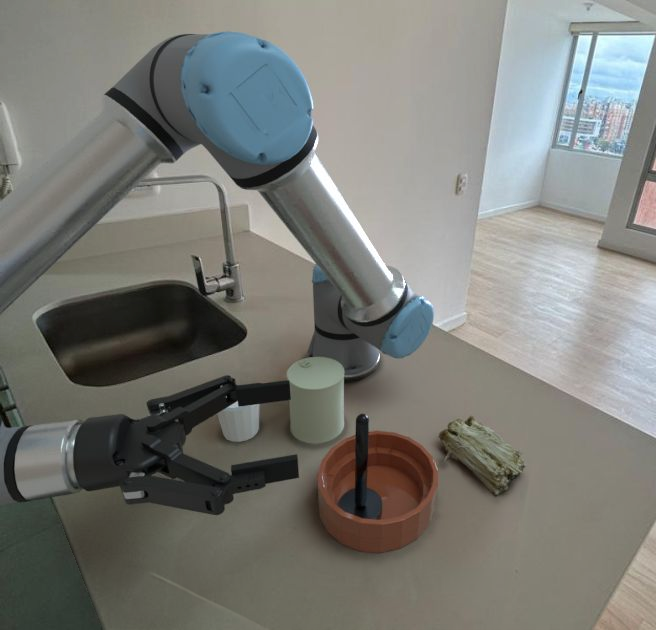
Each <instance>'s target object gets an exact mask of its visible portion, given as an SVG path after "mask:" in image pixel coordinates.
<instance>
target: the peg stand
mask: <svg viewBox="0 0 656 630" xmlns="http://www.w3.org/2000/svg"><path fill="white" fill-rule="evenodd" d="M369 432H370V418H369V416H368V415H367V414H366V413H359V414H358V415H357V416H356V417H355V435H356V440H355V488H353V489H351V490H349V491H347V492H346V493H344V494H343V496H342V497H341V498H340V500H339V504H338V507H340V508H341V509H342V510H343V511H344V512H347V513H350V514H352V515H355V516H357V517H360V518H364V519H376V520H380V519H381V516H382V500H381V498H380V496H379V494H378V493H377V492H375V491H374V490H372V489H369V488H367V467H368V436H369Z"/></svg>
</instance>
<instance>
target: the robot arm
mask: <svg viewBox="0 0 656 630" xmlns="http://www.w3.org/2000/svg"><path fill="white" fill-rule="evenodd" d="M100 99H101V100H100V101H101V112H99V113H98V114H97V115H96V116H95V117H94V118H93V119H92V120H90V121H89V122H88V123H87V124H86V125H85V126H84V127H82V129H80V130H79V131H78V132H77V133H76V134H75V135H73V137H71V138H70V139H69V140H68V141H66V142H65V143H64V144H63V145H62V146H61V147H60V148H59V149H58V150H57V151H55V152H54V153H53V154H52V155H51V156H50V157H48V158H47V159H46V160H45V161H44V162H43V163H42V164H41V165H39V166H38V167H37V168H36V169H35V170H34V171H33V172H32V173H31V174H30V175H28V176H27V177H26V178H25V179H24V180H22V181H21V182H20V183H19V184H18V185H17V186H16V187H15V188H14V189H12V191H10V192H9V193H8V194H6V196H5V197H3V199H1V200H0V315H2V314H3V313H4V312H5V311H6V310H7V309H8V308H9V307H10V306H11V305H12V304H13V303H14V302H15V301H17V300H18V298H20V297H21V296H22V295H24V293H25V292H26V291H27V290H28V289H29V288H30V287H32V285H34V284H35V283H36V282H37V281H38V280H39V279H40V278H41V277H42V276H43V275H44V274H45V273H46V272H47V271H48V270H49V269H51V267H53V266H54V264H56V263H57V262H58V261H59V260H60V259H61V258H62V257H63V256H64V255H65V254H66V253H68V251H70V250H71V249H72V248H73V246H75V244H77V243H78V242H79V241H80V240H81V239H82V238H83V237H84V236H85V235H86V234H87V233H89V231H91V230H92V229H93V228H94V227H95V226H96V225H97V224H99V222H100V221H101V220H102V219H103V218H104V217H105V216H107V214H108V213H110V211H111V210H113V209H114V208H115V207H116V206H117V205H118V204H119V203H120V202H121V201H122V200H123V199H124V198H125V197H126V196H127V195H128V194H129V193H131V192H132V191H133V190H134V189H135V188H136V187H137V186H138V185H139V184H140V183H141V182H142V181H143V180H144V179H145V178H147V176H149V175H150V174H151V173H152V172H153V171H154V170H155V169H156V168H157V167H158V166H160V164H175V163H176V162H177V161H178V160H179V159H180V158H181V157H182V156H183V155H185V154H186V153H187V152H188V151H190V150H192V149H193V148H196V147H198V146H200V145H201V146H202V147H204V149H206V151H207V152H208V153H209V154H210V155H211V156H212V158H213V159H214V160H215V161H216V162H217V163H218V165H219V166H220V167H221V168H222V170H223V171H224V172H225V173H226V175H228V177H229V178H230V179H231V180H232V181H233V183H234V184H235V185H236V186H237V187H239V188H240V189H242V190H245V191H257V192H258V193H259V195H260V196H261V197H262V198H263V199H264V201H265V202H266V203H267V205H268V206H269V207H270V208H271V209H272V211H273V212H274V213H275V214H276V216H277V217H278V219H280V221H281V222H282V223H283V224H284V226H285V227H286V228H287V230H288V231H289V232H290V233H291V234H292V236H293V237H294V238H295V239H296V241H297V242H298V243H299V244H300V246H301V247H302V248H303V250H305V251H306V253H307V255H308V256H309V257H310V258H311V260H313V262H314V263H315V264H314V266H313V268H312V276H311V277H312V279H311V283H312V297H313V298H312V299H313V322H314V330H313V333H312V336H311V339H310V342H309V345H308V349H307V352H306V358H310V357H326V358H331V359H334V360H336V361H338V362H339V363H340V364H341V365H342V366H343V368H344V371H345V373H344V382H351V381H352V382H353V381H358V380H361V379H363V378H367V377H368V376H370V375H371V374H373V373H374V372H375V371H376V370H377V369H378V367H379V364H380V352H381V353H382V354H383V355H387V356H389V357H391V358H393V359H398V360H399V359H403V358H404V359H405V358H406V357H409V356H410V355H412V354H414V353H415V352H416V351H418V349H419V348H420V347H421V346H422V345H423V344H424V342H425V341H426V339H427V337H428V336H429V335H430V331H431V329H432V326H433V323H434V319H435V310H434V306H433V304H432V303H431V301H429V300H428V299H426V297H425V296H423V295H418V294H416V293H415V292H414V291H413V290H412V288H411V287H410V286H409V284H408V282H407V281H406V279H405V277H404V276H403V274H402V272H401V271H400V270H399V269H397V268H396V267H393V266H391V265H386V264H385V263H384V261H383V260H382V258H381V256H380V254H379V253H378V251H377V250H376V248H375V246H374V245H373V243H372V241H371V240H370V238H369V236H368V235H367V233H366V232H365V230H364V229H363V227H362V226H361V224H360V223H359V221H358V220H357V217H356V216H355V214H354V213H353V211H352V210H351V208H350V206H349V205H348V203H347V201H346V200H345V199H344V197H343V195H342V194H341V192H340V190H339V188H338V187H337V186H336V184H335V182H334V181H333V179H332V177H331V176H330V174H329V173H328V171H327V169H326V168H325V166H324V165H323V162H322V161H321V159H320V158H319V156H318V155H317V154H316V150H317V146H318V143H319V133H318V131H317V129H316V128H315V126H314V118H313V117H312V111H313V110H314V101H313V96H312V93H311V90H310V86H309V84H308V82H307V80H306V77H305V76H304V74H303V72H302V71H301V69H300V67H299V66H298V65H297V63H296V62H295V61H294V60H293V59H292V58H291V57H290V56H289V55H288V54H287V53H286V52H285V51H284V50H282V49H281V48H280V47H279V46H277V45H275V44H273V43H272V42H270V41H268V40H265V39H263V38H261V37H257V36H253V35H250V34H247V33H244V32H239V31H229V30H228V31H227V30H226V31H217V32H212V33H207V34H206V33H203V34H201V33H199V34H197V33H184V34H183V33H182V34H177V35H176V34H175V35H173V36H170V37H168V38H166V39H164V40H162V41H161V42H159V43H158V44H156V45H155V46H154V47H152V48H151V49H150V50H149V51H148V52H147V53H146V54H145V55H144V56H143V57H142V58H141V59H140V60H139V61H137V63H136V64H134V66H132V68H130V69H129V70H128V71H127V72H126V73H125V74H124V75H123V76H122V77H121V78H120V79H119V80H118V81H117V82H116V83H115V84H114V85H113V86H112V87H111V88H110V89H108V90H107V91H105V93H104V94H103V95H101V97H100ZM226 397H227V398H226ZM289 400H291V395H290V382H289V380H287V379H286V380H277V381H269V382H252V383H245V384H244V383H243V384H236V378H234V377H232V376H231V375H223V376H220V377H217V378H215V379H212V380H209V381H206V382H204V383H200V384H198V385H195V386H192V387H190V388H187V389H184V390H182V391H179V392H176V393H172V394H170V395H168V396H162V397H157V398H151V399H149V400H147V401H146V407H147V412H148V413H147V414H148V415H147V416H145V417H142V418H139V419H133V418H132V417H130V416H128V415H126V414H124V413H118V414H109V415H102V416H93V417H88V418H87V419H86V420H84V421H83V420H82V419H79V418H73V419H67V420H59V421H51V422H44V423H38V424H37V423H36V424H31V425H22V426H13V427H12V426H11V427H6V426H5V424H4V421H3V418H2V415H1V414H0V507H2V506H8V505H13V504H14V505H15V504H20V503H27V502H28V503H29V502H33V501H37V500H45V499H51V498H55V497H56V498H57V497H61V496H63V497H64V496H68V495H74V494H78V493H81V491H83V490H85V491H86V492H93V491H101V490H106V489H111V488H117V487H120V490H121V493H122V496H123V500H124V502H125V504H126V505H131V506H132V505H138V504H139V505H141V504H148V503H149V504H154V505H159V506H165V507H170V508H175V509H180V510H185V511H191V512H196V513H203V514H207V515H212V516H219V515H221V514H223V513H224V512H225V510H226V507H225V505H229V504H231V503H232V502H233V501H234V495H235V494H240V493H245V492H250V491H256V490H261V489H263V488H266V485H267V484H273V483H277V482H278V483H279V482H283V481H289V480H290V481H291V480H293V479H294V480H296V479H299V478H300V472H299V458H298V457H299V456H298V454H297V453H296V454H290V455H284V456H277V457H272V458H266V459H260V460H254V461H248V462H241V463H235V464H231V465H230V473H231V474H230V473H229V472H226V471H224V470H222V469H219V468H218V467H215V466H213V465H210V464H209V463H206V462H204V461H201V460H199V459H197V458H195V457H193V456H190V455H188V454H186V453H184V450H183V447H184V445H185V443H186V440H187V436H188V435H190V434H191V432H192V431H193V429H194V428H195V427H197V426H199V425H201V424H202V423H204V422H205V421H207V420H209V419H210V418H213V417H214V416H215V415H217V413H219V412H220V411H222V410H224V409H225V408H227V407H229V406H230V405H232V404H234V403H235V402H237V401H238V407H240V406H248V405H256V404H259V405H263V404H270V403H277V402H285V401H286V402H287V401H289ZM157 473H159V474H161V475H163V476H165V477H161V476H157V475H155V474H157ZM166 477H167V478H166Z"/></svg>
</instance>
